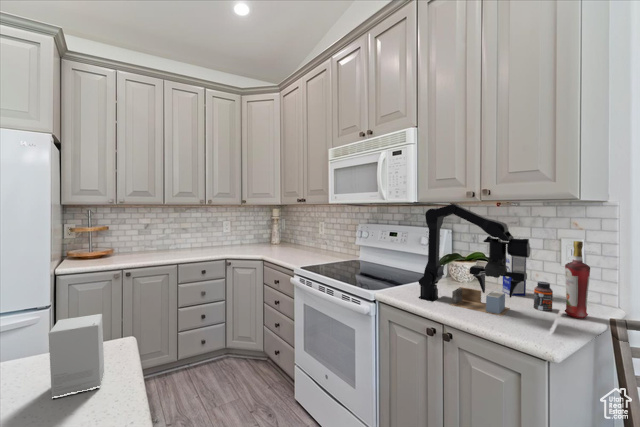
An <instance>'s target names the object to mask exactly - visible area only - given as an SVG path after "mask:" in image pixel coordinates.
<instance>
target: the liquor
mask: <svg viewBox="0 0 640 427" xmlns="http://www.w3.org/2000/svg"><path fill="white" fill-rule="evenodd" d="M583 246H584V242H583V241H579V240H574V241H573V254H572V255H573V256H572V261H571V262H567V263H566V264H564V268H565V269H564V275H565V276H564V278H565V280H564V282H565V309H564V313H566V315H568V317H571V318H575V319H584V318H586V317H588V316H589V313H587V312H588V311H587V309H588V297H589V296H588V295H589V294H588V293H589V286H590V278H591V277H590V276H591V275H590V274H591V266H589V265H588V264H586V263H584V261H583V260H584V259H583Z"/></svg>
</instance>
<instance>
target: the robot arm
mask: <svg viewBox="0 0 640 427" xmlns="http://www.w3.org/2000/svg"><path fill="white" fill-rule="evenodd" d="M451 215H454V216H456V217H458V218H461V219H463V220H465V221H467V222H469V223H471V224H473V225H475V226H478V228H480V229H481V230H482V231H483V232H485V233H487V235H488V236H487V237H486V238H485V239H483V240H482V242H483V243H488V244H489V246H488V247H489V248H488V250H489V251H488V259H487V263H486V265H485V266H483V265H475V264H474V265H472V266H470V267H469V270H468V271H469V275H472V277H474V278H476V279H477V281H478V283H479V286H480V288H481V293H483V294H485V292H486V277H487V278H488V277H493V278H495V279H499V278H500V277H503V276H506V277H511V278H512V280H511V286H510V293H509V294H508V295H509V299H511V298H512V295H513V292H514V290H515V288H516V286H517V284H518V283H521V282H522V281H525V280H526V281H527V280H528V273H527V271H526V272H525V271H517V270H515V271H513V272H507V267H506V253H508V254H510V255H511V256H515V257H525V258H526V259H529V258H530V255H531V246H530V245H531V244H530V238H514V236H513V235H512V233H510V231H509V227H508V225H507V224H506V223H505V222H503V221H500V220H495V219H492V218H488V217H485V216H482V215H480V214H479V213H478V214H477V213H476V212H473V211H471V210H469V209H467V208H465V207H462V206H461V205H459V204H457V203H450V204H448V205H446V206H442V207H439V208H429V209H428V210H427V211H426V212H425V213H424V216H425V222H426V226H427V227H428V244H427V245H428V249H427V252H428V253H427V262H426V266H425V267H424V273H423V276H422V277H421V278H419V279H418V284H419V287H420V296H418V299H422V300H426V301H431V302H433V301H435V300H437V299H438V298H439V289H438V283H439V281H440V280H442V278H443V276H444V275H445V274H444V269H445V266H444V265H441V263H440V248H441V246H440V243H441V238H440V237H441V227H442V225H443V223H444V219H445V218H446V217H449V216H451Z"/></svg>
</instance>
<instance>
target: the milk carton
mask: <svg viewBox="0 0 640 427" xmlns="http://www.w3.org/2000/svg"><path fill="white" fill-rule="evenodd" d="M506 267H507V272H513V271H515V270H517V271H525V272H526V273H527V258H525V257H515V256H511V255H510V254H508V253H507V252H506ZM511 280H512V278H511V277H506V276H502V293H505V294H507V295H509V293H510V286H511ZM526 284H527V279H526V280H525V281H522V282H521V283H518V284H517V286H516V288H515V290H514V292H513V295H512V296H513V297H514V296H517V297H518V296H520V297H521V296H523V297H525V296H526V292H527V290H526V289H527V286H526Z"/></svg>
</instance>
